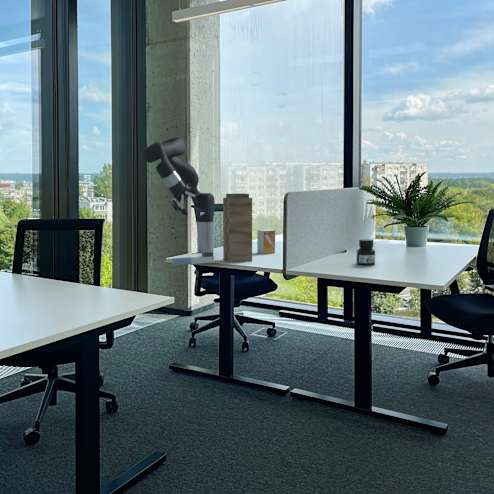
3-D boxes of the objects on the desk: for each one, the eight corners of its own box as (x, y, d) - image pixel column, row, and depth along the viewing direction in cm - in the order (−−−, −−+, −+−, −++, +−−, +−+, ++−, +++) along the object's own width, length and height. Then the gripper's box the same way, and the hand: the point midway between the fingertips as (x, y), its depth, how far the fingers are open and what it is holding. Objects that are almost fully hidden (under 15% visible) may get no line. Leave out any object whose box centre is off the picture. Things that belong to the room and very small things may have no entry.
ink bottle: (359, 265, 262) (360, 241, 261) (352, 263, 271) (353, 239, 269) (378, 265, 264) (379, 240, 263) (371, 262, 273) (371, 238, 271)
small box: (263, 254, 300) (263, 230, 298) (257, 253, 305) (257, 229, 303) (275, 253, 304) (275, 230, 302) (268, 252, 309) (268, 229, 308)
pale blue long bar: (171, 264, 267) (171, 254, 266) (212, 261, 275) (212, 251, 274) (173, 265, 264) (173, 254, 263) (214, 262, 272) (214, 252, 272)
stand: (223, 259, 281) (223, 193, 276) (245, 258, 285) (245, 193, 281) (229, 262, 272) (229, 194, 267) (252, 261, 276) (252, 194, 271)
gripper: (178, 173, 259) (196, 200, 266) (159, 191, 252) (178, 218, 259) (187, 172, 253) (205, 199, 261) (168, 190, 246) (187, 218, 254)
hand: (191, 209), depth 260 cm, fingers open, 8 cm apart
